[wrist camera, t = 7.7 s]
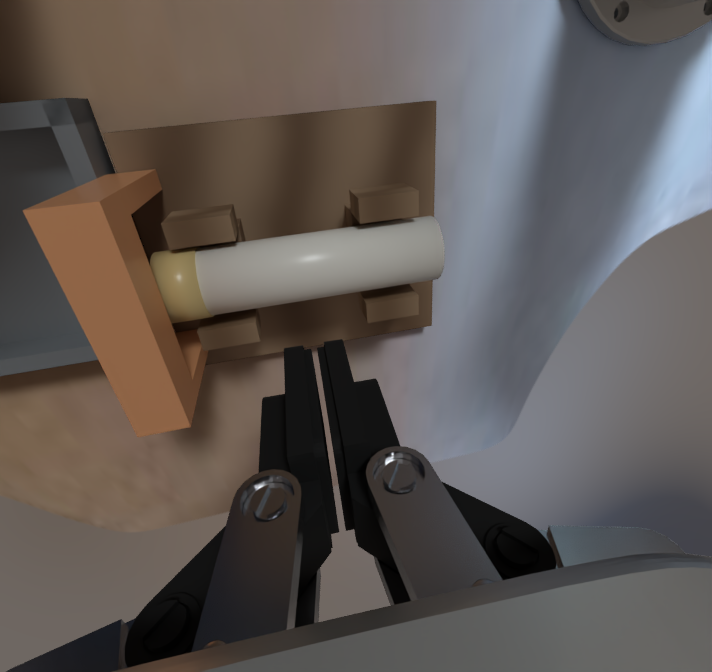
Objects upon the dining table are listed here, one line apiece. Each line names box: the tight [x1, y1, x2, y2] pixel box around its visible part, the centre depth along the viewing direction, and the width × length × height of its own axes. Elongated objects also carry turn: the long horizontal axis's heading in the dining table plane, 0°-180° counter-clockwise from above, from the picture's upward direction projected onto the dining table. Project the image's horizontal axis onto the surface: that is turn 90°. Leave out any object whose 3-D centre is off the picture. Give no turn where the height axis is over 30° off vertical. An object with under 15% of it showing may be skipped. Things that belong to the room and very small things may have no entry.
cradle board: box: [103, 101, 436, 365], centre depth 22 cm, size 17×14×6 cm
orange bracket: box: [22, 169, 208, 437], centre depth 19 cm, size 2×10×8 cm, turn 5°
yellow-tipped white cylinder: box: [150, 216, 445, 324], centre depth 21 cm, size 14×4×4 cm, turn 95°
